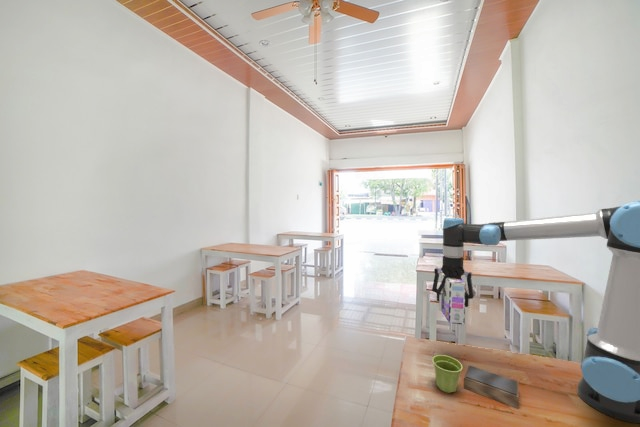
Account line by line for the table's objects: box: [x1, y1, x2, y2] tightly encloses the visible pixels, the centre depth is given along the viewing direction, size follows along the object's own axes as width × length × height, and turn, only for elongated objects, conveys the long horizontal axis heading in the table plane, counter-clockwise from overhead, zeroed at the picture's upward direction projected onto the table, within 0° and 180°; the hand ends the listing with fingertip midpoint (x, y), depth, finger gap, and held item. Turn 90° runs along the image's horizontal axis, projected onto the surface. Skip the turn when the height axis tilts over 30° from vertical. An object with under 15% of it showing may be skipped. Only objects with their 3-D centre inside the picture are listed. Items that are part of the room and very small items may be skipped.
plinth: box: [463, 365, 520, 409], centre depth 90 cm, size 15×9×4 cm, turn 53°
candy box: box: [440, 272, 467, 326], centre depth 108 cm, size 14×6×16 cm, turn 168°
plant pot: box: [431, 354, 463, 394], centre depth 91 cm, size 9×9×9 cm
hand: (452, 311), depth 108 cm, fingers closed on candy box, 8 cm apart
